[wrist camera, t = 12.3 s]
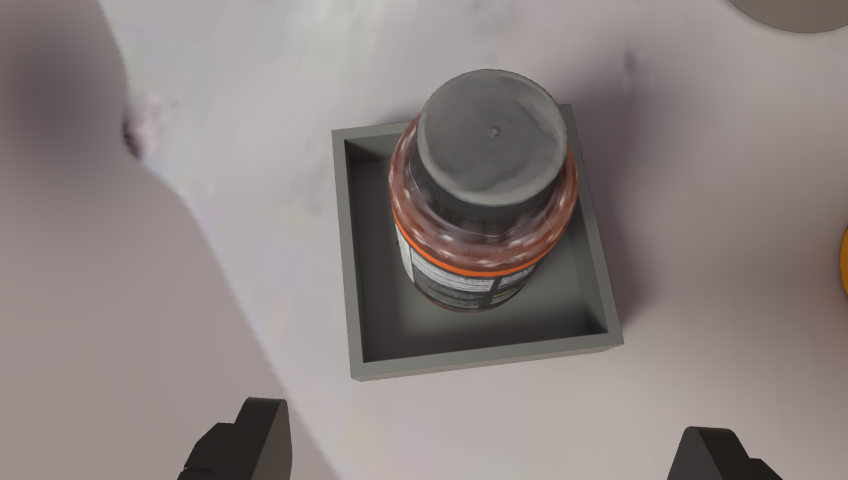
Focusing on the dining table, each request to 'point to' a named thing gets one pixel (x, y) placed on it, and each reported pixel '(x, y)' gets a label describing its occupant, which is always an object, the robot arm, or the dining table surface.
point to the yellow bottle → (844, 261)
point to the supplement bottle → (481, 189)
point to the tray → (447, 330)
